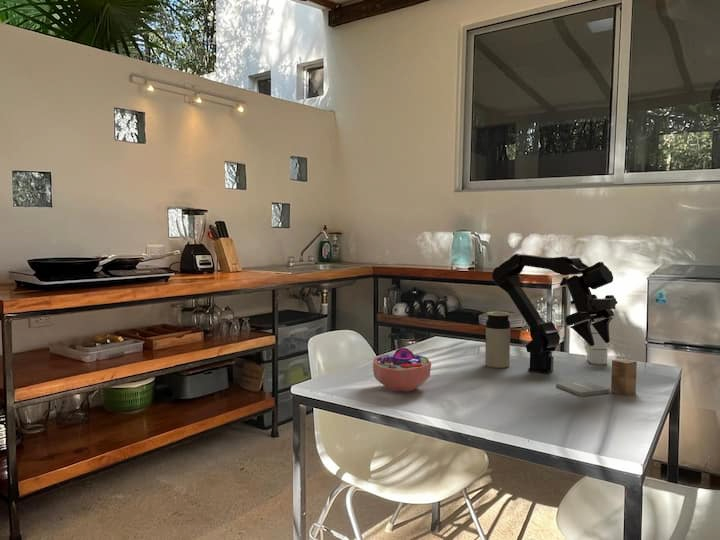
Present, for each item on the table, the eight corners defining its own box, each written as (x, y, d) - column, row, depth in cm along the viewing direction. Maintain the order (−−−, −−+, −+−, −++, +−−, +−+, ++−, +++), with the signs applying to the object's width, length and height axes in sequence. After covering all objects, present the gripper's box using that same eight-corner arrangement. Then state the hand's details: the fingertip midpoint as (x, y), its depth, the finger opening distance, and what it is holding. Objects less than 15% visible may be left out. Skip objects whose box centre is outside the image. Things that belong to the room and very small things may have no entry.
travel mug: (512, 364, 188) (513, 312, 186) (505, 369, 181) (506, 315, 180) (489, 362, 192) (490, 310, 191) (481, 366, 185) (482, 313, 184)
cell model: (362, 395, 151) (362, 354, 150) (384, 378, 169) (384, 342, 169) (422, 402, 145) (422, 359, 144) (438, 383, 164) (438, 345, 163)
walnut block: (611, 391, 155) (611, 360, 155) (621, 389, 157) (621, 358, 157) (625, 395, 151) (626, 363, 151) (635, 393, 153) (636, 361, 153)
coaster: (556, 386, 160) (556, 383, 160) (584, 383, 163) (584, 380, 163) (580, 396, 150) (580, 392, 150) (609, 392, 154) (609, 389, 154)
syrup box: (607, 364, 189) (608, 322, 188) (589, 363, 190) (590, 321, 189) (603, 360, 194) (605, 320, 194) (586, 360, 196) (587, 319, 195)
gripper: (589, 286, 156) (610, 339, 151) (619, 284, 168) (640, 333, 163) (556, 299, 163) (575, 350, 159) (587, 297, 175) (606, 344, 171)
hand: (600, 344), depth 163 cm, fingers open, 9 cm apart
